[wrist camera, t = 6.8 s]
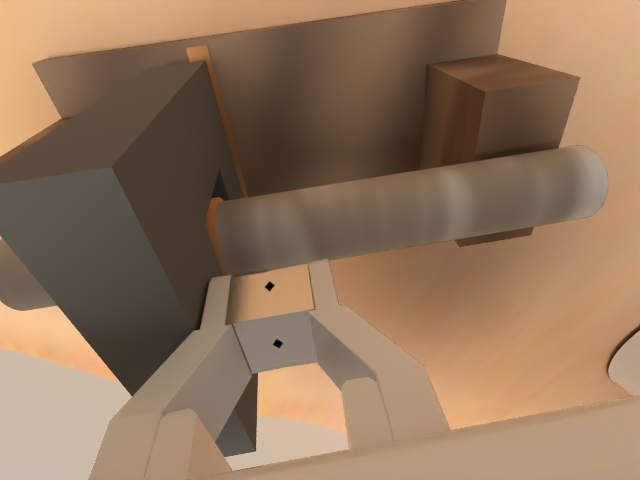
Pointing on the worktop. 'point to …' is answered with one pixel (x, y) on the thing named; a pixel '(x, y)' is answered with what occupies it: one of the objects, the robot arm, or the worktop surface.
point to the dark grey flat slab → (130, 223)
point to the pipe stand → (360, 136)
